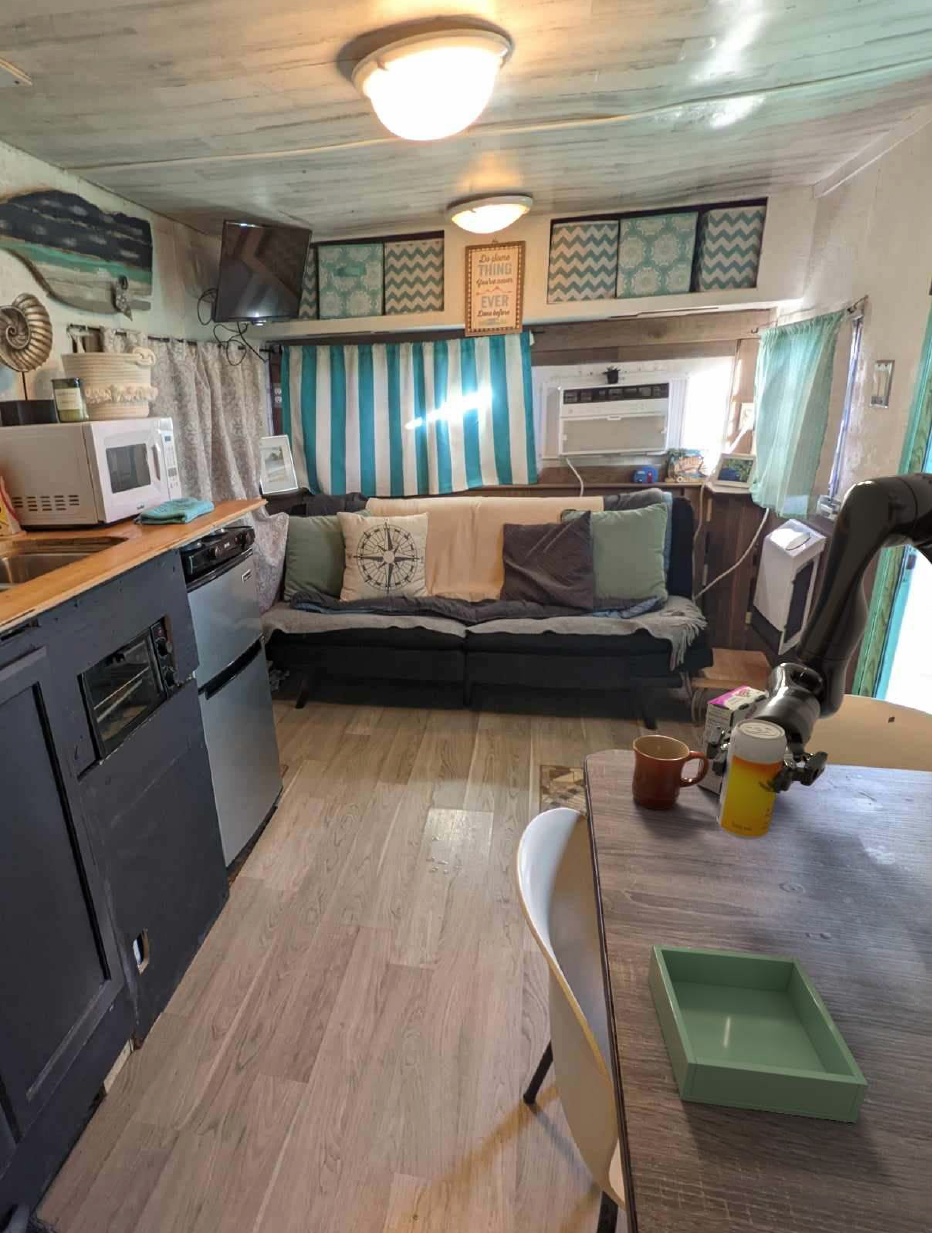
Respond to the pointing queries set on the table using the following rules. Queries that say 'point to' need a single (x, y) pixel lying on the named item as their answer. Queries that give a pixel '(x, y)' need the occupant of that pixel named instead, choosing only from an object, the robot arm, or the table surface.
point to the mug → (662, 770)
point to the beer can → (751, 778)
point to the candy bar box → (727, 723)
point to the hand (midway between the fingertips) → (747, 777)
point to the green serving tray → (752, 1034)
